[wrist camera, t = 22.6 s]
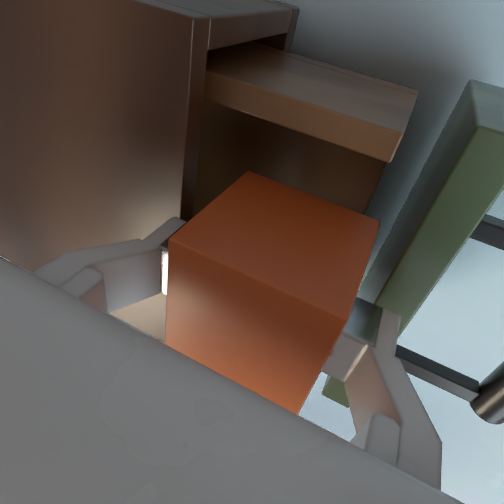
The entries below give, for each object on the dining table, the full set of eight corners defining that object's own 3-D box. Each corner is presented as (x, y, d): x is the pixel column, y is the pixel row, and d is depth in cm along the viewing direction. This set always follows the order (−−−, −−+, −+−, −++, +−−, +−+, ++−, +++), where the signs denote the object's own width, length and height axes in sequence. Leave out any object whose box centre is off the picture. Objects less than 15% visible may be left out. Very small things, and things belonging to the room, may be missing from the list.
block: (334, 316, 14) (295, 420, 10) (229, 268, 14) (163, 349, 11) (381, 220, 11) (348, 320, 7) (248, 169, 12) (167, 238, 8)
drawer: (679, 137, 11) (828, 232, 6) (467, 357, 18) (471, 472, 14) (159, -9, 15) (38, -10, 11) (156, 219, 22) (84, 274, 18)
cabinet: (300, 7, 14) (193, 17, 8) (245, 256, 22) (172, 347, 16) (12, -69, 17) (-207, -99, 11) (56, 172, 25) (-60, 224, 19)
